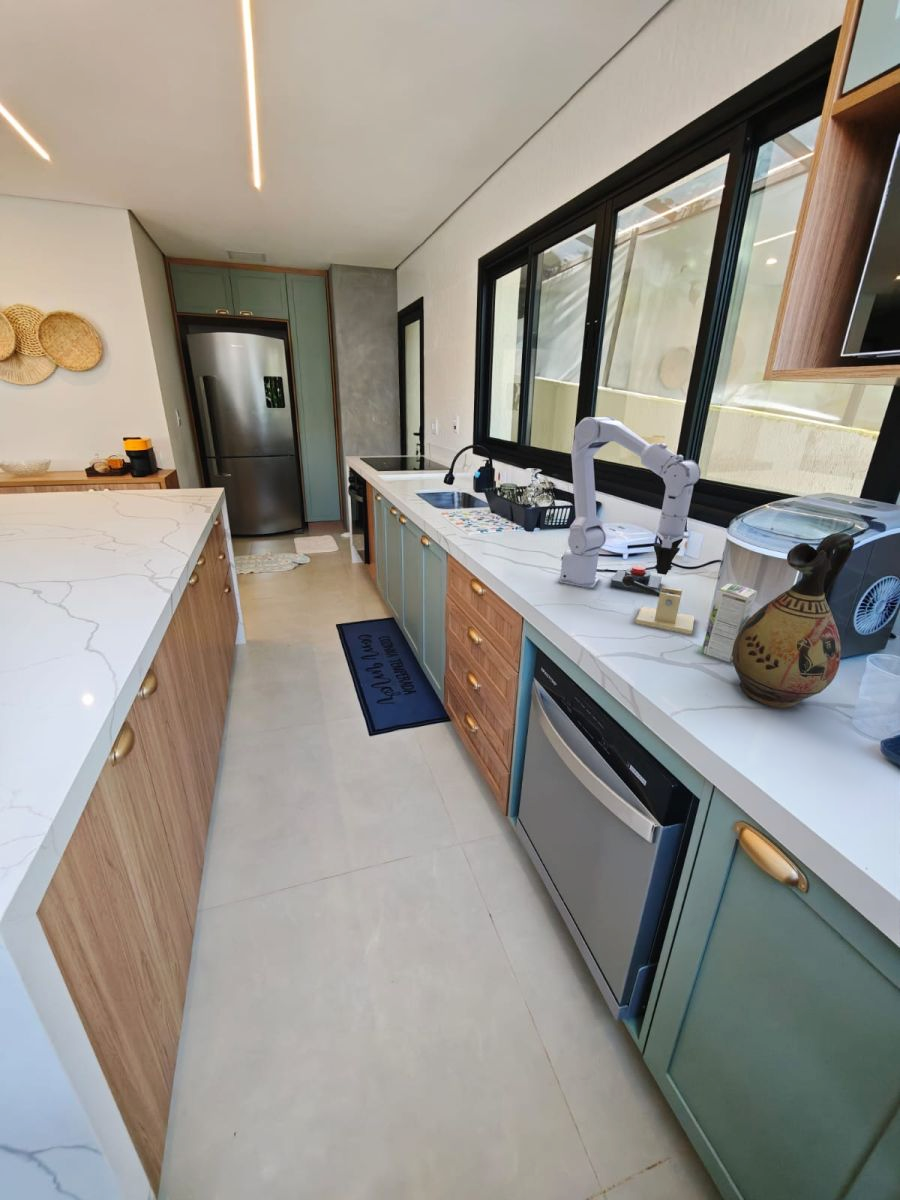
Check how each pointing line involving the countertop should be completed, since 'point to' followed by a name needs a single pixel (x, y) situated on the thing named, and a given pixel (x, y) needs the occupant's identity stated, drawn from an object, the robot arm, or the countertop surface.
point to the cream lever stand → (667, 613)
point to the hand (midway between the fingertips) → (663, 569)
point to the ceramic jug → (794, 631)
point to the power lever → (640, 585)
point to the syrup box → (728, 620)
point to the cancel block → (643, 579)
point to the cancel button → (638, 570)
